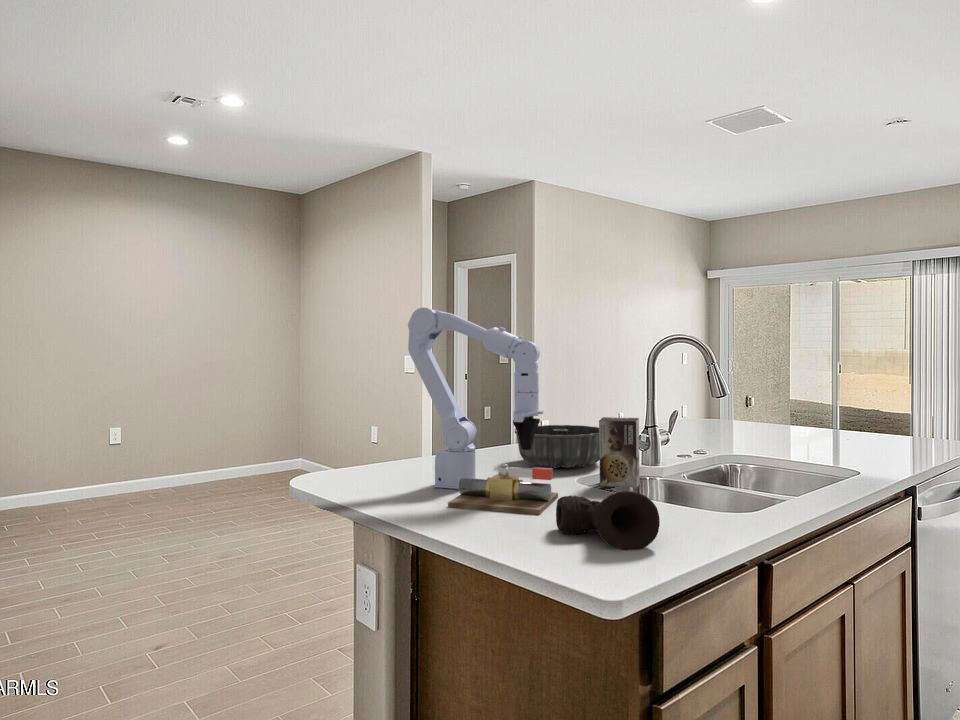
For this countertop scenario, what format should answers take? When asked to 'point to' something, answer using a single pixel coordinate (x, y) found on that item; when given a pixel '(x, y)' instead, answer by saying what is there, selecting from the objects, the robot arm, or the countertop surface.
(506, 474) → the valve lever
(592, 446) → the bundt pan
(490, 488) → the valve body
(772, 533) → the countertop surface
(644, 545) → the pipe
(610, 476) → the coffee box
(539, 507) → the mount board
